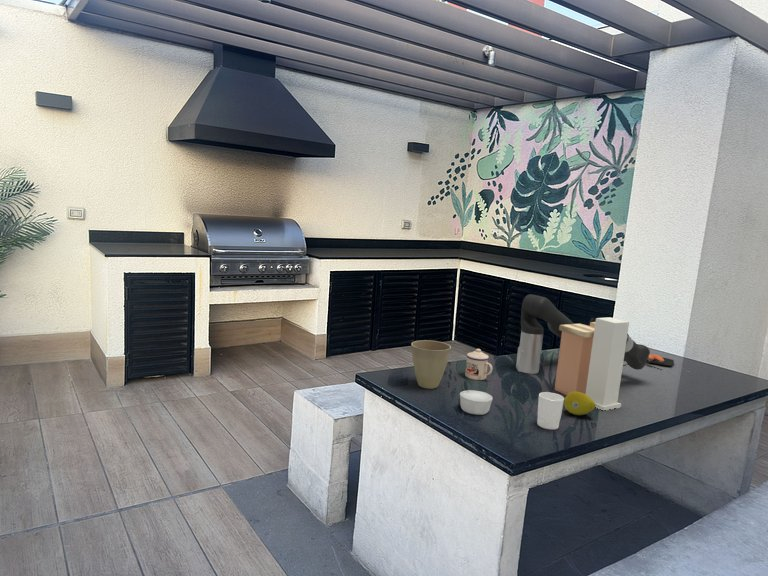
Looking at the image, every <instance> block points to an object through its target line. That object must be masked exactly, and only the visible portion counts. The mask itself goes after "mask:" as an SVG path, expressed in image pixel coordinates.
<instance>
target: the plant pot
mask: <svg viewBox="0 0 768 576" xmlns="http://www.w3.org/2000/svg"><path fill="white" fill-rule="evenodd" d="M410 346H411V356H412V357H411V358H412V364H413V365H412V366H413V369H414V374H415V377H416V382H417V385H418V386H419V387H421V388H423V389H429V390H430V389H431V390H432V389H436V388H438V387H439V385H440V383H441V380H442V378H443V375H444V373H445V370H446V368H447V365H448V361H449V357H450V353H451V349H452V346H451V345H450V344H448V343H445V342H443V341H437V340H426V339H424V340H415V341H413V342H411V345H410Z"/></svg>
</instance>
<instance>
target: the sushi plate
mask: <svg viewBox="0 0 768 576" xmlns="http://www.w3.org/2000/svg"><path fill="white" fill-rule="evenodd" d="M648 363H649V364H648ZM652 363H653V364H652ZM674 363H675V360H674V359H671V358H667V357H664V356H663V357H662V356H660V355H658V354H651V353H650V354H649V357H648V359H647V361H646V364H645V366H647V367H650V368H652V367H654V368H653V369H655V368H657V369H656V370H659V369H660V371H662V370H663V369H661V368H659V367H656V366H654V365H658V366H667V367H670V366H673V365H674ZM650 364H652V365H650ZM626 365H628V364H627V363H626V364H623V367H624V366H625V367H627V366H626Z"/></svg>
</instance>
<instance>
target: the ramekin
mask: <svg viewBox="0 0 768 576" xmlns="http://www.w3.org/2000/svg"><path fill="white" fill-rule="evenodd" d="M459 398H460V399H459V400H460V401H459V402H460V407H461V409H462V410H463V411H464V412H465V413H467V414H472V415H477V416H478V415H486V414H487V413H488V412H490V408H491V405H492V402H493V396H492V395H491V394H489V393H488V392H485V391H480V390H472V389H469V390H463V391H461V392H459Z"/></svg>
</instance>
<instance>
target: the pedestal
mask: <svg viewBox="0 0 768 576" xmlns="http://www.w3.org/2000/svg"><path fill="white" fill-rule="evenodd" d="M595 320H596V322H595V329H594V336H593V344H592V351H591V358H590V365H589V372H588V380H587V387H586V395H587V396H589V397H590V398H591V399H592V400H593V401H594V402H595V404H596V406H595V407H596V408H595V409H597V408H598V409H597V410H599V409H601V410H606V411H610V410H609V409H611V410H615V409H614V408H616V409H620V407H621V408H622V403H620V402H618V400H619V393H620V388H621V387H620V386H621V379H622V372H623V367H624V366H623V365H624V362H625V361H624V354H625V347H626V341H627V334H628V335H629V333H628V332H629V327H630V321H626V320H623V319H619V318H615V317H610V316H609V317H597V318H595ZM623 361H624V362H623ZM601 410H600V411H601Z"/></svg>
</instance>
